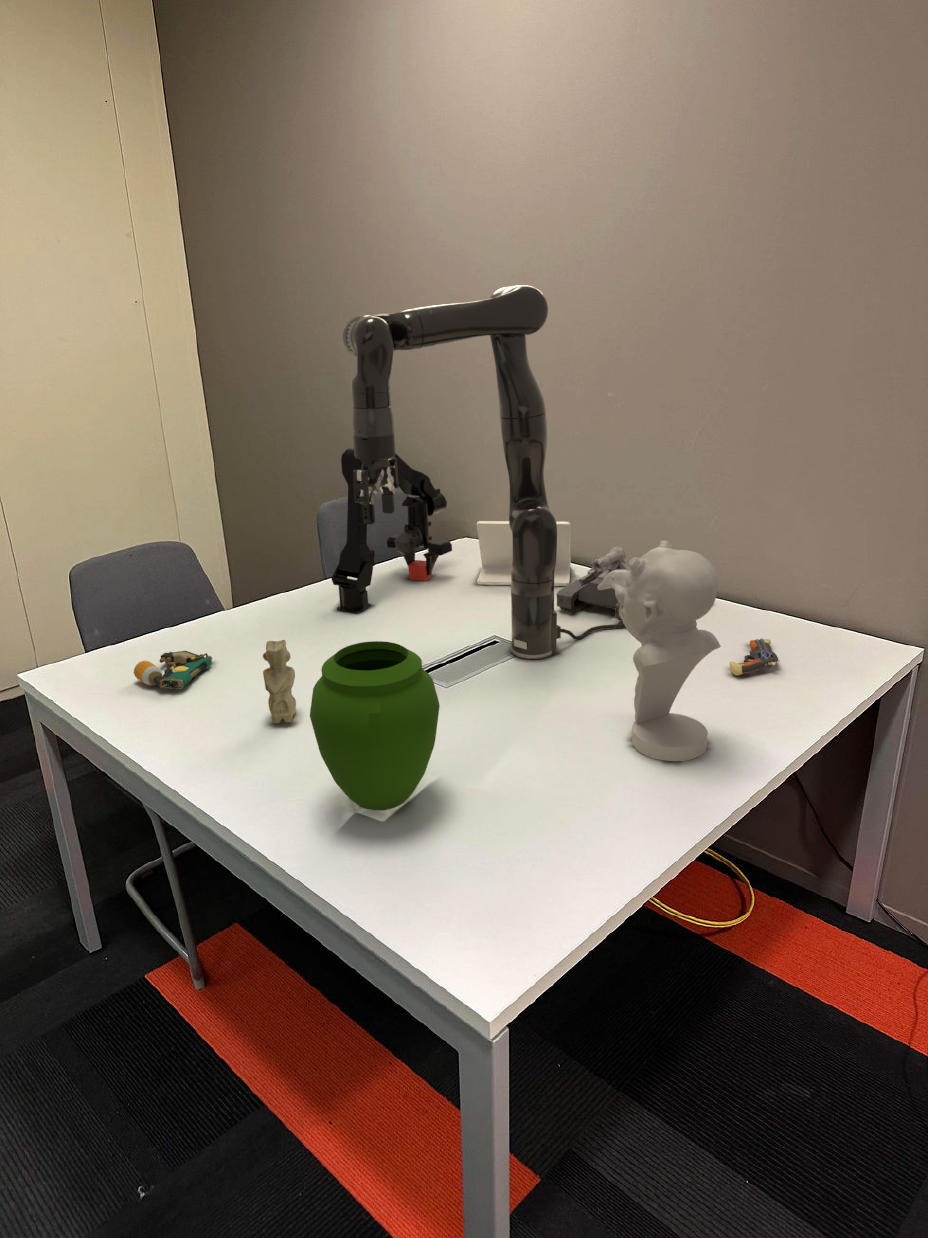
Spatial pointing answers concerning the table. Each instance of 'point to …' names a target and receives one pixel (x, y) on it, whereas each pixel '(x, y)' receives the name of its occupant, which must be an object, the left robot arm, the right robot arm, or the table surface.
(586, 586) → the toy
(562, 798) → the table surface
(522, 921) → the table surface
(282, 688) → the sculpture
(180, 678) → the spray gun
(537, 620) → the right robot arm
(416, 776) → the vase
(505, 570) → the tablet stand
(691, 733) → the bust sculpture
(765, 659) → the toy gun
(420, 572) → the brick
